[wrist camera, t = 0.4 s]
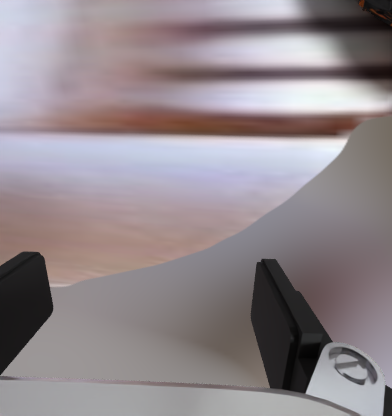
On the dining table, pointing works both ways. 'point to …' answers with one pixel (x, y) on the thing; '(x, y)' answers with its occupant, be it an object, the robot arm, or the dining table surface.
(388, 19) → the tool
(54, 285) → the dining table surface
